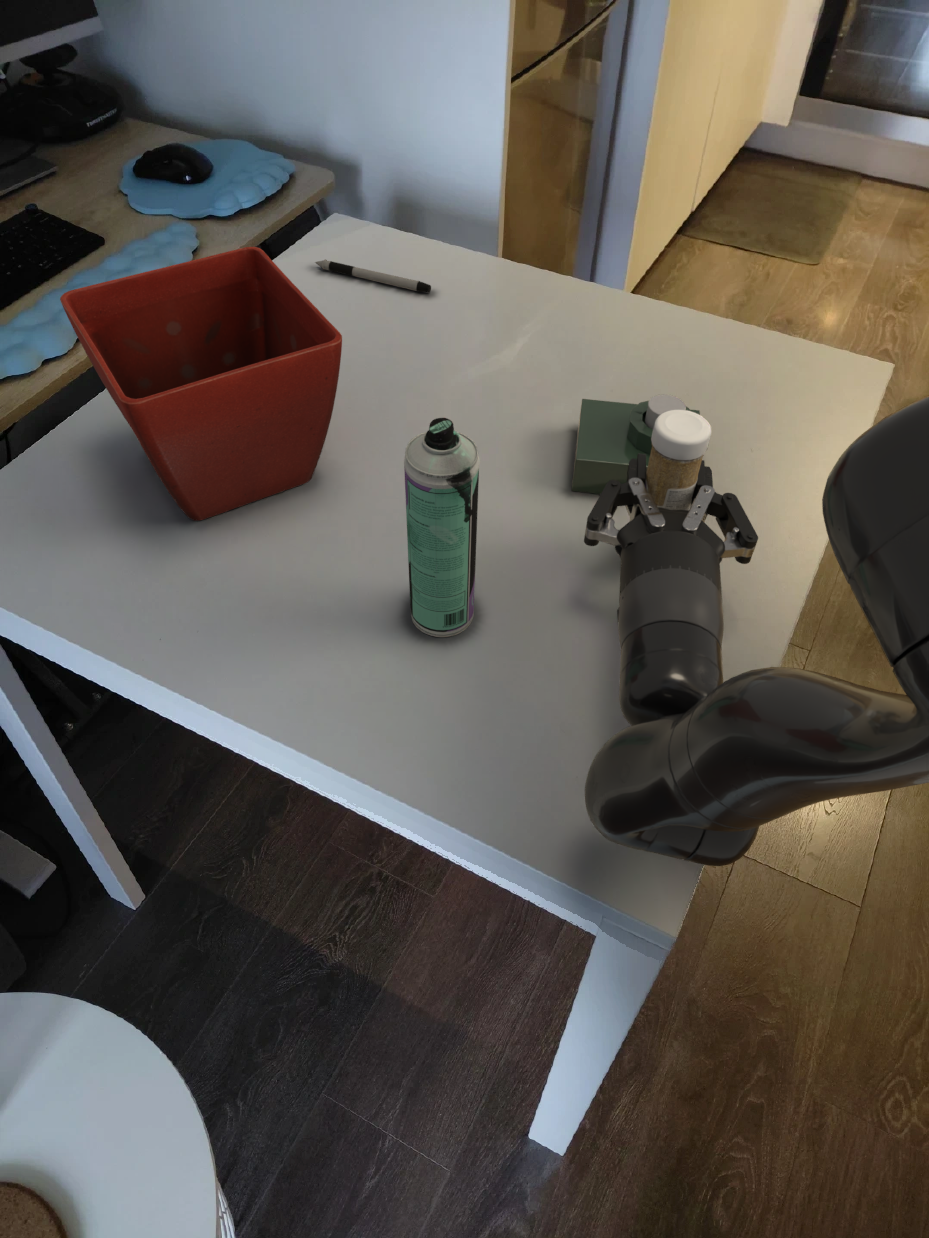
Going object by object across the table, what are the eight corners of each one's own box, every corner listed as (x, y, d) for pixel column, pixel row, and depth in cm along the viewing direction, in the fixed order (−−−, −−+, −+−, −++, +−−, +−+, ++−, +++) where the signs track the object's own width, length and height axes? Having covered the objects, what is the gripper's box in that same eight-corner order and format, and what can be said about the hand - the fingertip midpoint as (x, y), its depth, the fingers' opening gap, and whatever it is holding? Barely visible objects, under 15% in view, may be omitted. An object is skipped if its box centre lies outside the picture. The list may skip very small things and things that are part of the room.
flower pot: (360, 489, 89) (347, 337, 76) (173, 559, 82) (123, 404, 69) (281, 391, 99) (257, 242, 87) (109, 446, 92) (55, 293, 80)
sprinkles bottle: (621, 533, 83) (646, 411, 73) (667, 526, 84) (698, 404, 74) (639, 567, 80) (668, 445, 70) (687, 559, 81) (722, 437, 71)
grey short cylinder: (681, 413, 88) (685, 395, 87) (682, 435, 86) (686, 418, 85) (644, 409, 89) (648, 392, 87) (644, 432, 86) (647, 414, 85)
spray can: (485, 606, 79) (495, 417, 64) (451, 647, 76) (453, 458, 61) (433, 581, 81) (430, 392, 65) (398, 620, 77) (387, 431, 62)
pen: (427, 296, 113) (427, 286, 112) (312, 269, 117) (311, 259, 116) (432, 291, 114) (432, 281, 113) (317, 264, 118) (316, 255, 117)
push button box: (691, 441, 95) (704, 393, 90) (693, 504, 88) (707, 455, 83) (577, 430, 96) (584, 381, 91) (571, 491, 89) (578, 442, 84)
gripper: (781, 583, 64) (763, 438, 75) (580, 560, 65) (592, 420, 76) (754, 651, 69) (740, 506, 81) (569, 628, 70) (581, 489, 82)
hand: (668, 465), depth 78 cm, fingers closed on sprinkles bottle, 4 cm apart
